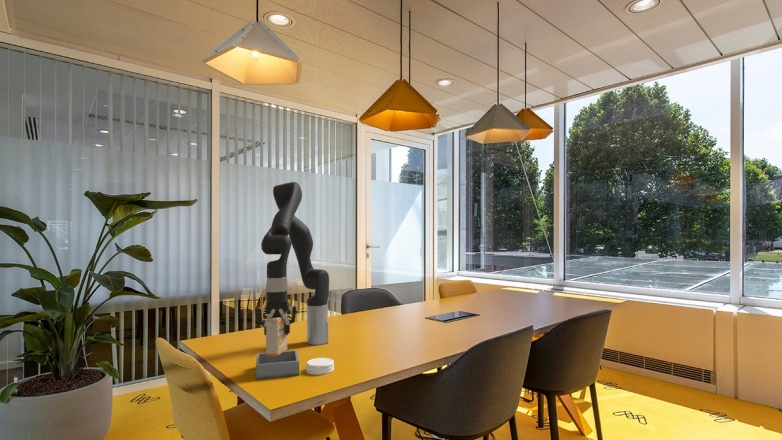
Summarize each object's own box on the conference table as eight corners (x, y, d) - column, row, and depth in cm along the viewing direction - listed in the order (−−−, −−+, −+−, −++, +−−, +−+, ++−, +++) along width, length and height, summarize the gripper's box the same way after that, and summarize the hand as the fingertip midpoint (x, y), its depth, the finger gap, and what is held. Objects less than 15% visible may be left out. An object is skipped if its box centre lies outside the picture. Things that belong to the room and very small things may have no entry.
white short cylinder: (309, 377, 152) (309, 367, 152) (303, 369, 161) (303, 359, 161) (337, 373, 156) (337, 363, 156) (329, 365, 165) (329, 356, 165)
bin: (296, 363, 167) (296, 350, 167) (299, 375, 153) (299, 361, 153) (257, 366, 163) (257, 353, 164) (255, 379, 149) (255, 365, 149)
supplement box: (278, 356, 154) (277, 319, 154) (265, 355, 155) (265, 318, 155) (288, 349, 162) (287, 314, 162) (276, 349, 163) (275, 314, 163)
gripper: (296, 287, 165) (296, 331, 164) (256, 289, 161) (256, 334, 160) (297, 290, 157) (297, 336, 157) (255, 292, 154) (256, 339, 153)
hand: (277, 335), depth 159 cm, fingers closed on supplement box, 6 cm apart
